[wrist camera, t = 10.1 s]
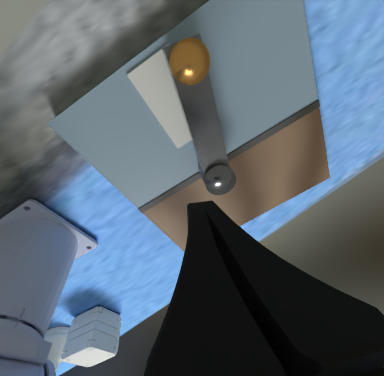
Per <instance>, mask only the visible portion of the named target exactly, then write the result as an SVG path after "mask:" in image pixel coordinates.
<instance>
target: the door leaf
mask: <svg viewBox="0 0 384 376" xmlns="http://www.w3.org/2000/svg"><path fill="white" fill-rule="evenodd" d="M199 33H200V36H201V41H202V43H203V44H204V45H205V46H206V48H207V50H208V52H209V56H210V67H209V71H208V72H209V77H210V81H211V86H212V90H213V95H214V99H215V104H216V108H217V113H218V117H219V122H220V126H221V131H222V135H223V140H224V144H225V149H226V153H227V155H228V154H229V153H231V152H233V151H234V150H236V149H238V148H239V147H241V146H243V145H244V144H246V143H248V142H249V141H251V140H252V139H254V138H256V137H257V136H259V135H261V134H262V133H264V132H266V131H267V130H269V129H271V128H272V127H274V126H276V125H277V124H279V123H280V122H282V121H284V120H285V119H287V118H289V117H290V116H292V115H294V114H295V113H297V112H299V111H300V110H302V109H304V108H305V107H307V106H308V105H310V104H312V103H313V102H315V101H317V100H318V96H317V89H316V82H315V76H314V69H313V63H312V56H311V50H310V43H309V36H308V30H307V23H306V17H305V10H304V4H303V0H209V1H208V2H206V3H205V4H204V5H202V6H201V7H200V8H199V9H197V10H196V11H195V12H193V13H192V14H191V15H189V16H188V17H187V18H185V19H184V20H183V21H181V22H180V23H179V24H177V25H176V26H175V27H174V28H172V29H171V30H170V31H168V32H167V33H166V34H164V35H163V36H162V37H160V38H159V39H158V40H156V41H155V42H154V43H153V44H151V45H150V46H149V47H147V48H146V49H145V50H143V51H142V52H141V53H139V54H138V55H137V56H135V57H134V58H133V59H132V60H130V61H129V62H128V63H126V64H125V65H124V66H122V67H121V68H120V69H118V70H117V71H116V72H114V73H113V74H112V75H111V76H109V77H108V78H107V79H105V80H104V81H103V82H101V83H100V84H99V85H97V86H96V87H95V88H93V89H92V90H91V91H89V92H88V93H87V94H86V95H84V96H83V97H82V98H80V99H79V100H78V101H76V102H75V103H74V104H72V105H71V106H70V107H68V108H67V109H66V110H65V111H63V112H62V113H61V114H59V115H58V116H57V117H55V118H54V119H53V120H51V121H50V122H49V123H47V124H48V125H49V126H50V127H51V128H52V129H53V130H54V131H55V132H57V133H58V134H59V135H60V136H61V137H62V138H63V139H64V140H65V141H66V142H67V143H68V144H69V145H70V146H72V147H73V148H74V149H75V150H76V151H77V152H78V153H79V154H80V155H81V156H82V157H83V158H84V159H85V160H87V161H88V162H89V163H90V164H91V165H92V166H93V167H94V168H95V169H96V170H97V171H98V172H99V173H100V174H102V175H103V176H104V177H105V178H106V179H107V180H108V181H109V182H110V183H111V184H112V185H113V186H114V187H115V188H117V189H118V190H119V191H120V192H121V193H122V194H123V195H124V196H125V197H126V198H127V199H128V200H129V201H130V202H132V203H133V204H134V205H135V206H136V207H137V208H138V209H139V208H141V207H142V206H144V205H145V204H147V203H149V202H150V201H152V200H154V199H155V198H157V197H159V196H160V195H162V194H164V193H165V192H167V191H168V190H170V189H172V188H173V187H175V186H177V185H178V184H180V183H182V182H183V181H185V180H187V179H188V178H190V177H192V176H193V175H195V174H196V173H198V172H199V169H198V166H199V161H198V158H197V155H196V151H195V148H194V145H193V142H192V139H191V136H190V133H189V130H188V127H187V124H186V121H185V118H184V115H183V112H182V109H181V105H180V102H179V99H178V96H177V93H176V90H175V87H174V84H173V81H172V78H171V75H170V72H169V69H168V66H167V62H166V59H165V56H164V53H163V50H162V48H163V47H166V46H168V45H171V44H174V43H176V42H179V41H181V40H183V39H185V38H189V37H192V36H194V35H197V34H199Z"/></svg>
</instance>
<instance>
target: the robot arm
mask: <svg viewBox="0 0 384 376" xmlns="http://www.w3.org/2000/svg"><path fill="white" fill-rule="evenodd" d="M26 206H27V207H29V208H27V207H26ZM187 221H188V235H187V242H186V247H185V253H184V257H183V262H182V266H181V270H180V273H179V277H178V280H177V284H176V287H175V290H174V293H173V296H172V299H171V302H170V304H169V307H168V310H167V313H166V316H165V318H164V321H163V324H162V326H161V329H160V331H159V334H158V336H157V338H156V341H155V343H154V346H153V348H152V350H151V353H150V355H149V358H148V361H147V366H146V369H145V373H144V376H384V315H383V314H382V313H381V312H380V311H379V310H378V309H377V308H375V307H374V306H371V305H369V304H367V303H365V302H363V301H361V300H359V299H356V298H354V297H352V296H350V295H348V294H345V293H344V292H341V291H339V290H337V289H335V288H333V287H331V286H329V285H327V284H326V283H323V282H322V281H320V280H318V279H316V278H314V277H312V276H310V275H309V274H307V273H305V272H303V271H302V270H300V269H298V268H296V267H295V266H293V265H292V264H290V263H288V262H287V261H285V260H283V259H282V258H280V257H278V256H277V255H276V254H274V253H273V252H271V251H270V250H269V249H267V248H266V247H264V246H263V245H262V244H260V243H259V242H258V241H256V240H255V239H254V238H253V237H251V236H250V235H249V234H248V233H246V232H245V231H244V230H243V229H242V228H241V227H240V226H238V225H237V224H236V223H235V222H234V221H233V220H232V219H231V218H230V217H229V216H228V215H227V214H226V213H225V212H224V211H223V210H222V209H221V208H220V207H219V206H218V205H217V204H216V203H215V202H214V201H212V200H211V201H204V202H196V203H189V204H188V205H187ZM97 245H98V242H97V241H96V240H94V239H93V238H91V237H90V236H88V235H87V234H85V233H84V232H82V231H81V230H80V229H78V228H77V227H75V226H74V225H72V224H71V223H69V222H68V221H66V220H65V219H63V218H62V217H60V216H59V215H57V214H56V213H54V212H53V211H51V210H50V209H48V208H47V207H45V206H44V205H42V204H41V203H39V202H38V201H36V200H33V199H29V200H27V201H26V202H24V203H23V204H21V205H20V206H18V207H17V208H15V209H14V210H13V211H11V212H10V213H8V214H7V215H5V216H4V217H2V218H1V219H0V376H56V372H55V367H54V365H53V363H52V362H51V361H50V360H48V359H47V358H48V355H49V352H50V349H51V346H52V343H51V342H48V341H46V340H44V338H45V335H46V332H47V330H48V327H49V324H50V322H51V319H52V317H53V314H54V311H55V309H56V306H57V304H58V301H59V298H60V296H61V293H62V290H63V288H64V285H65V283H66V280H67V277H68V275H69V272H70V269H71V267H72V264H73V262H74V260H76V259H77V258H79V257H81V256H83V255H84V254H86V253H88V252H89V251H91V250H93V249H94V248H96V247H97Z"/></svg>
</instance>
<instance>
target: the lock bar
mask: <svg viewBox="0 0 384 376" xmlns="http://www.w3.org/2000/svg"><path fill="white" fill-rule="evenodd" d="M162 50H163V53H164V56H165V59H166V62H167V66H168V69H169V72H170V75H171V78H172V81H173V84H174V87H175V90H176V93H177V96H178V99H179V102H180V105H181V109H182V112H183V115H184V118H185V121H186V124H187V127H188V130H189V133H190V136H191V139H192V142H193V145H194V148H195V151H196V155H197V158H198V161H199V166H198V169H199V172H200V175H201V177H202V179H203V182H204V184H205V186H206V188H207V190H208V192H210V193H211V194H213V195H223V194H226V193H228V192H229V191H230V190H232V188H233V187H234V186H235V183H236V175H235V173H234V172H233V171H232V169H231V168H230V167H229V162H228V158H227V153H226V149H225V144H224V140H223V135H222V131H221V126H220V122H219V117H218V113H217V108H216V104H215V99H214V95H213V90H212V86H211V81H210V77H209V72H208V71H209V67H210V56H209V52H208V50H207V48H206V46H205V45H204V44H203V43H202V41H201V36H200V33H199V34H197V35H194V36H192V37H189V38H185V39H183V40H181V41H179V42H176V43H174V44H171V45H168V46H166V47H163V48H162Z"/></svg>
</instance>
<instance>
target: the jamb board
mask: <svg viewBox="0 0 384 376" xmlns="http://www.w3.org/2000/svg"><path fill="white" fill-rule="evenodd" d="M319 107H320V103H319V100H317V101H315V102H313V103H312V104H310V105H308V106H307V107H305V108H304V109H302V110H300V111H299V112H297V113H295V114H294V115H292V116H290V117H289V118H287V119H285V120H284V121H282V122H280V123H279V124H277V125H276V126H274V127H272V128H271V129H269V130H267V131H266V132H264V133H262V134H261V135H259V136H257V137H256V138H254V139H252V140H251V141H249V142H248V143H246V144H244V145H243V146H241V147H239V148H238V149H236V150H234V151H233V152H231V153H229V154H228V155H227V158H228V162H229V167H230V168H231V169H232V171H233V172H234V173H235V175H236V183H235V186H234V187H233V188H232V190H230V191H229V192H228V193H226V194H223V195H213V194H211V193H210V192H208V190H207V188H206V186H205V184H204V182H203V179H202V177H201V175H200V172H198V173H196V174H195V175H193V176H192V177H190V178H188V179H187V180H185V181H183V182H182V183H180V184H178V185H177V186H175V187H173V188H172V189H170V190H168V191H167V192H165V193H164V194H162V195H160V196H159V197H157V198H155V199H154V200H152V201H150V202H149V203H147V204H145V205H144V206H142V207H141V208H139V209H138V210H139V211H140V212H141V213H143V214H144V215H145V216H147V217H148V218H149V219H150V220H151V221H152V222H153V223H154V224H155V225H156V226H157V227H158V228H159V229H160V230H161V231H163V232H164V233H165V234H166V235H167V236H168V237H169V238H170V239H171V240H172V241H173V242H174V243H175V244H176V245H178V246H179V247H180V248H181V249H182V250H183V251H184V252H185V247H186V242H187V235H188V221H187V205H188V204H189V203H196V202H204V201H211V200H212V201H214V202H215V203H216V204H217V205H218V206H219V207H220V208H221V209H222V210H223V211H224V212H225V213H226V214H227V215H228V216H229V217H230V218H231V219H232V220H233V221H234V222H235V223H236V224H237V225H238V226H241V225H242V224H244V223H246V222H248V221H250V220H252V219H254V218H255V217H257V216H259V215H261V214H263V213H265V212H267V211H269V210H270V209H272V208H274V207H276V206H278V205H280V204H282V203H283V202H285V201H287V200H289V199H291V198H293V197H295V196H297V195H298V194H300V193H302V192H304V191H306V190H308V189H310V188H311V187H313V186H315V185H317V184H319V183H321V182H323V181H325V180H326V179H328V178H330V175H329V168H328V161H327V155H326V148H325V142H324V135H323V129H322V122H321V115H320V109H319Z"/></svg>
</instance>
